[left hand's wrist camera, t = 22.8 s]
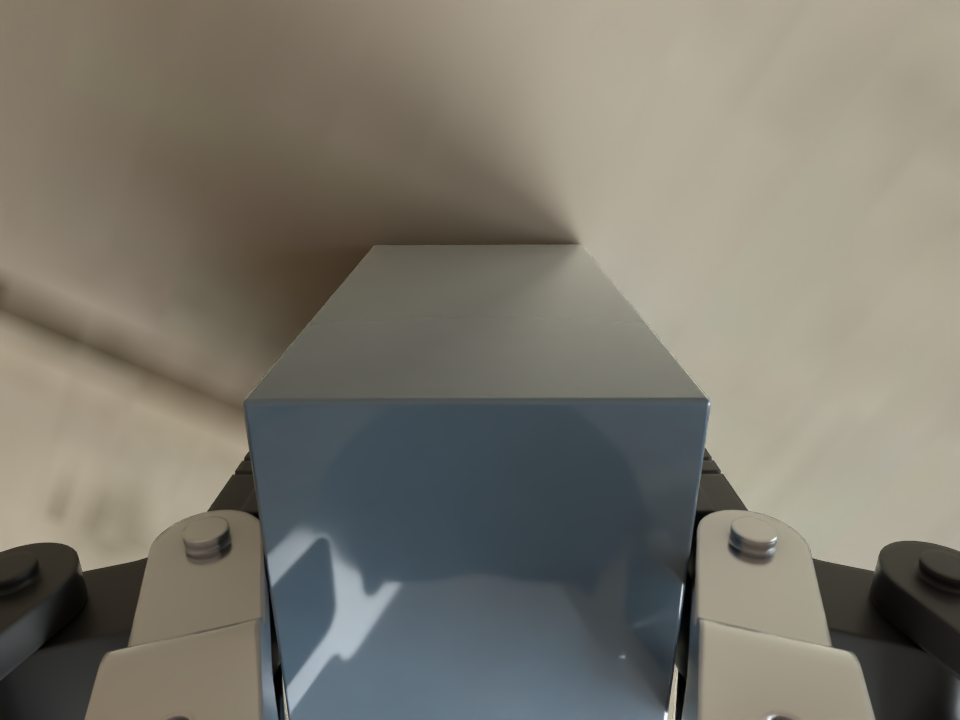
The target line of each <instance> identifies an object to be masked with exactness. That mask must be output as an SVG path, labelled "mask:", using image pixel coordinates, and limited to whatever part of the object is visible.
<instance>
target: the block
mask: <svg viewBox="0 0 960 720" xmlns="http://www.w3.org/2000/svg"><path fill="white" fill-rule="evenodd" d="M710 405H711V402H710V399H709V398H708V396H707V395H706V394H705V393H704V392H703V390H702V389H701V388H700V387H699V385H698V384H697V383H696V382H695V381H694V379H693V378H692V377H691V376H690V375H689V373H688V372H687V371H686V370H685V368H684V367H683V366H682V365H681V364H680V362H679V361H678V360H677V359H676V358H675V356H674V355H673V354H672V353H671V351H670V350H669V349H668V348H667V347H666V345H665V344H664V343H663V342H662V341H661V339H660V338H659V337H658V336H657V334H656V333H655V332H654V331H653V330H652V328H651V327H650V326H649V325H648V323H647V322H646V321H645V320H644V319H643V317H642V316H641V315H640V314H639V313H638V311H637V310H636V309H635V308H634V306H633V305H632V304H631V303H630V302H629V300H628V299H627V298H626V297H625V296H624V294H623V293H622V292H621V291H620V289H619V288H618V287H617V286H616V285H615V283H614V282H613V281H612V280H611V279H610V277H609V276H608V275H607V274H606V272H605V271H604V270H603V269H602V268H601V266H600V265H599V264H598V263H597V262H596V260H595V259H594V258H593V257H592V255H591V254H590V253H589V252H588V251H587V249H586V248H585V247H584V246H583V245H374V246H373V247H372V248H371V249H370V251H369V252H368V253H367V254H366V255H365V257H364V258H363V259H362V260H361V261H360V262H359V264H358V265H357V266H356V267H355V268H354V270H353V271H352V272H351V273H350V274H349V276H348V277H347V278H346V279H345V280H344V281H343V283H342V284H341V285H340V286H339V287H338V289H337V290H336V291H335V292H334V293H333V294H332V296H331V297H330V298H329V299H328V300H327V302H326V303H325V304H324V305H323V306H322V308H321V309H320V310H319V311H318V312H317V313H316V315H315V316H314V317H313V318H312V319H311V321H310V322H309V323H308V324H307V325H306V326H305V328H304V329H303V330H302V331H301V332H300V334H299V335H298V336H297V337H296V338H295V340H294V341H293V342H292V343H291V344H290V345H289V347H288V348H287V349H286V350H285V351H284V353H283V354H282V355H281V356H280V357H279V358H278V360H277V361H276V362H275V363H274V364H273V366H272V367H271V368H270V369H269V370H268V372H267V373H266V374H265V375H264V376H263V377H262V379H261V380H260V381H259V382H258V383H257V385H256V386H255V387H254V388H253V389H252V390H251V392H250V393H249V394H248V395H247V396H246V398H245V399H244V401H243V411H244V418H245V425H246V431H247V438H248V445H249V452H250V459H251V465H252V472H253V479H254V486H255V493H256V499H257V506H258V513H259V520H260V527H261V533H262V540H263V547H264V554H265V561H266V567H267V574H268V581H269V588H270V595H271V601H272V608H273V615H274V622H275V629H276V635H277V642H278V649H279V656H280V663H281V669H282V676H283V683H284V690H285V697H286V703H287V710H288V717H289V720H667V716H668V709H669V702H670V694H671V687H672V680H673V673H674V665H675V658H676V651H677V644H678V636H679V629H680V622H681V615H682V608H683V600H684V593H685V586H686V579H687V571H688V564H689V557H690V550H691V542H692V535H693V528H694V521H695V514H696V506H697V499H698V492H699V485H700V477H701V470H702V463H703V456H704V448H705V441H706V434H707V427H708V419H709V412H710Z"/></svg>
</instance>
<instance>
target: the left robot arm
mask: <svg viewBox="0 0 960 720" xmlns="http://www.w3.org/2000/svg"><path fill="white" fill-rule="evenodd" d="M711 458H712V457H711V456H710V454H709V453H708V451H707V450H706V448H704V456H703V463H702V470H701V477H700V485H699V492H698V499H697V506H696V514H695V521H694V528H693V535H692V542H691V550H690V557H689V564H688V571H687V579H686V586H685V593H684V600H683V608H682V615H681V622H680V629H679V636H678V644H677V651H676V658H675V664H676V666H677V674H676V681H675V693H674V709H673V720H960V552H959V551H957V550H954V549H951V548H948V547H944V546H941V545H937V544H932V543H927V542H919V541H900V542H895V543H891V544H889V545H887V546H885V547H884V548H883V549H882V550H881V551H880V554H879V557H878V561H877V565H876V568H875V571H870V570H865V569H860V568H855V567H850V566H845V565H840V564H835V563H830V562H825V561H821V560H817V559H813V558H812V556H811V551H810V548H809V546H808V544H807V542H806V541H805V539H804V538H803V537H802V536H801V535H800V534H799V533H798V532H796V531H795V530H794V529H793V528H791V527H790V526H788V525H786V524H785V523H783V522H781V521H779V520H777V519H774V518H772V517H769V516H766V515H763V514H760V513H756V512H751V511H748V510H747V508H746V507H745V506H744V504H743V503H742V501H741V500H740V498H739V497H738V495H737V494H736V492H735V491H734V489H733V488H732V487H731V485H730V484H729V482H728V481H727V479H726V478H725V476H724V475H723V474H721V470H720V469H719V467H718V466H717V465H716V463H715V462H714V460H712V459H711ZM0 720H287V709H286V697H285V690H284V683H283V676H282V669H281V663H280V656H279V649H278V642H277V635H276V629H275V622H274V615H273V608H272V601H271V595H270V588H269V581H268V574H267V567H266V561H265V554H264V547H263V540H262V533H261V527H260V520H259V513H258V506H257V499H256V493H255V486H254V479H253V472H252V465H251V459H250V452H248V454H247V455H246V456H245V458H244V461H242V462H241V464H240V465H239V466H238V468H237V469H236V471H235V475H232V477H231V478H230V479H229V481H228V482H227V484H226V485H225V487H224V488H223V490H222V491H221V492H220V494H219V495H218V497H217V498H216V500H215V501H214V502H213V504H212V505H211V507H210V508H209V510H208V511H207V512H204V513H200V514H197V515H194V516H191V517H188V518H186V519H183V520H181V521H179V522H177V523H175V524H174V525H172V526H170V527H169V528H167V529H166V530H165V531H164V532H162V533H161V534H160V535H159V536H158V537H157V538H156V539H155V541H154V542H153V544H152V546H151V548H150V551H149V556H148V558H144V559H141V560H138V561H134V562H129V563H125V564H120V565H115V566H110V567H105V568H100V569H95V570H90V571H85V572H82V568H81V565H80V561H79V557H78V555H77V552H76V551H75V550H74V549H73V548H71V547H69V546H67V545H64V544H59V543H36V544H29V545H24V546H20V547H16V548H12V549H9V550H6V551H3V552H0Z"/></svg>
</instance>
